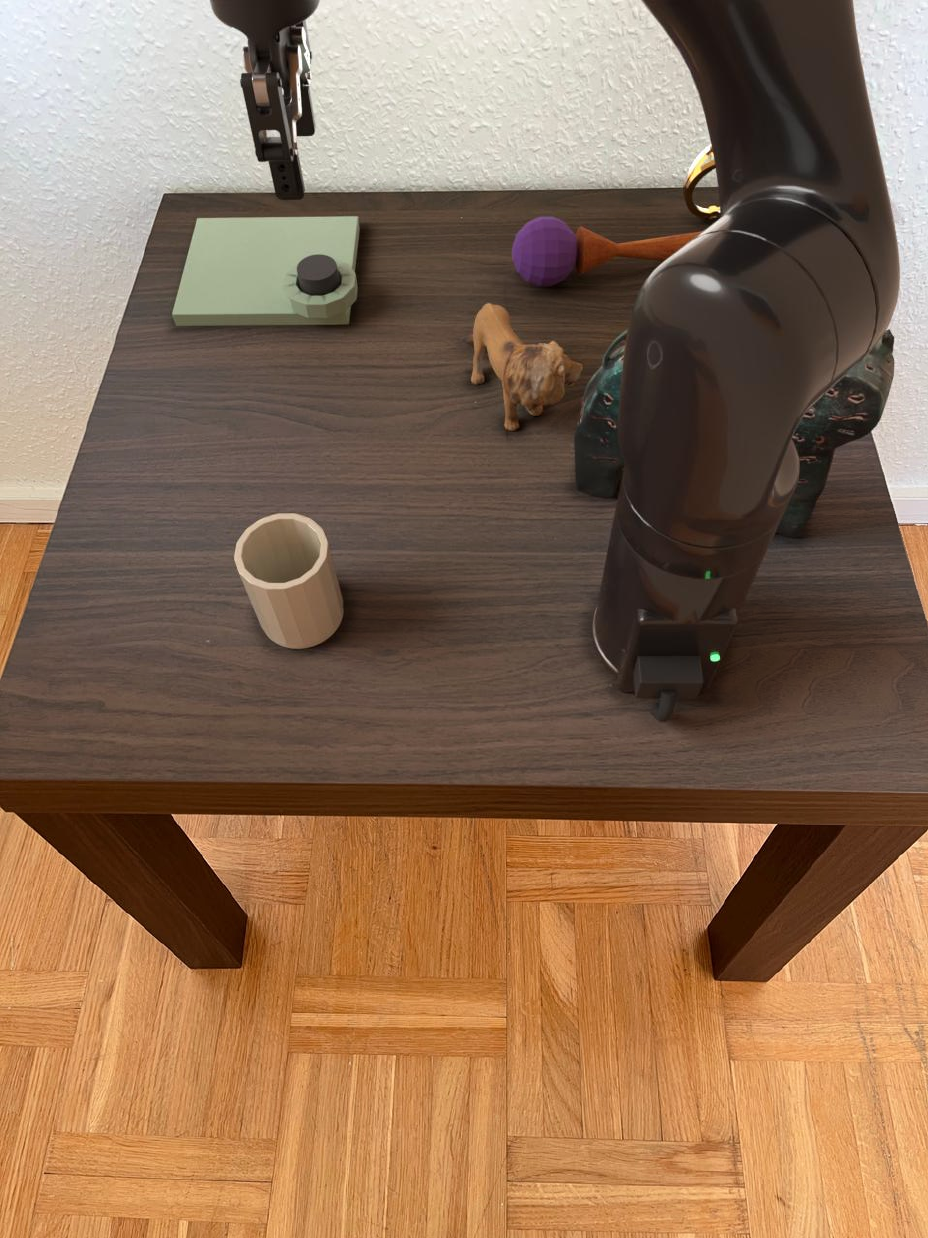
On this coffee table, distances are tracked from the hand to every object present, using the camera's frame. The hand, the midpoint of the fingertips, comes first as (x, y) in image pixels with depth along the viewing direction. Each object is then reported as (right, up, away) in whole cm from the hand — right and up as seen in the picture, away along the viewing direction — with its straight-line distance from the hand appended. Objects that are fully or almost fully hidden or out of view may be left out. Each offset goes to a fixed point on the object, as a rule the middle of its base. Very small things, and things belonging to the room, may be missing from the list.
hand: (297, 164), depth 73 cm
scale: (-5, -3, +15) cm, 16 cm away
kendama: (+28, -3, +14) cm, 31 cm away
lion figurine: (+18, -17, +6) cm, 25 cm away
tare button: (0, -6, +10) cm, 11 cm away
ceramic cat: (+31, -27, -1) cm, 42 cm away
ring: (+38, +3, +18) cm, 42 cm away
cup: (+1, -36, -5) cm, 36 cm away
